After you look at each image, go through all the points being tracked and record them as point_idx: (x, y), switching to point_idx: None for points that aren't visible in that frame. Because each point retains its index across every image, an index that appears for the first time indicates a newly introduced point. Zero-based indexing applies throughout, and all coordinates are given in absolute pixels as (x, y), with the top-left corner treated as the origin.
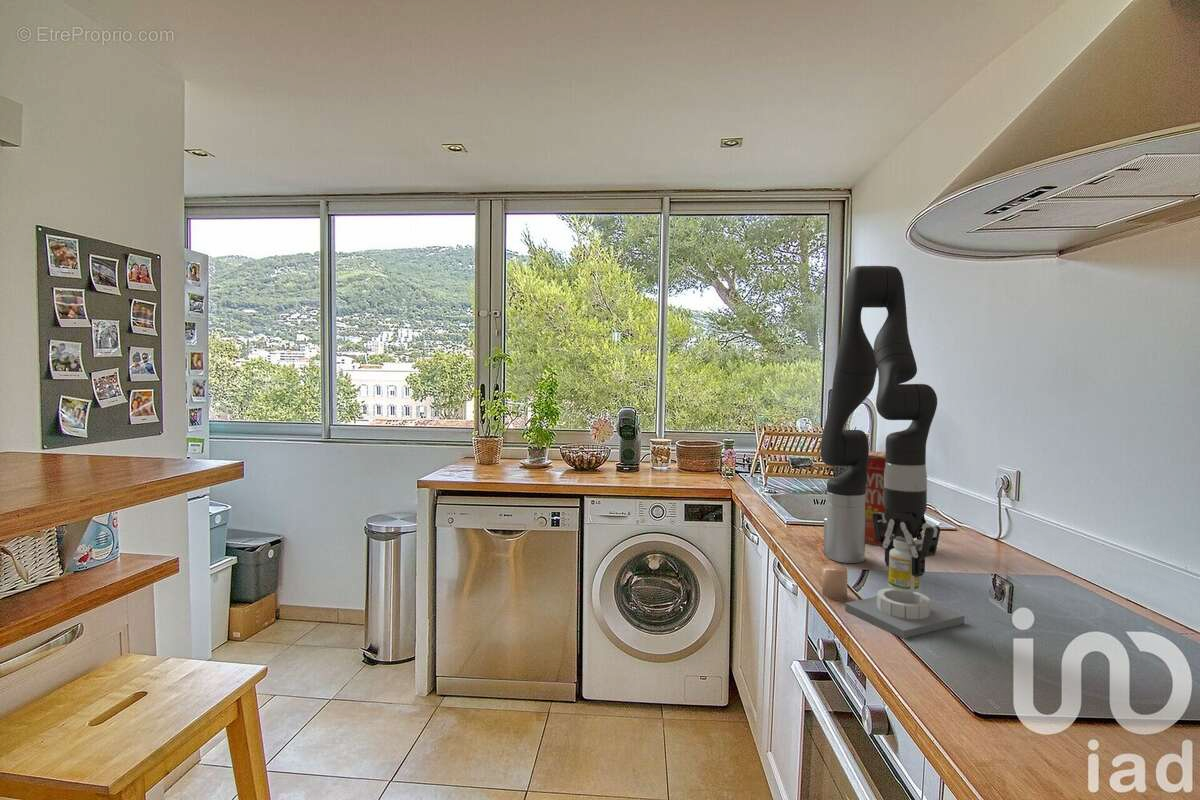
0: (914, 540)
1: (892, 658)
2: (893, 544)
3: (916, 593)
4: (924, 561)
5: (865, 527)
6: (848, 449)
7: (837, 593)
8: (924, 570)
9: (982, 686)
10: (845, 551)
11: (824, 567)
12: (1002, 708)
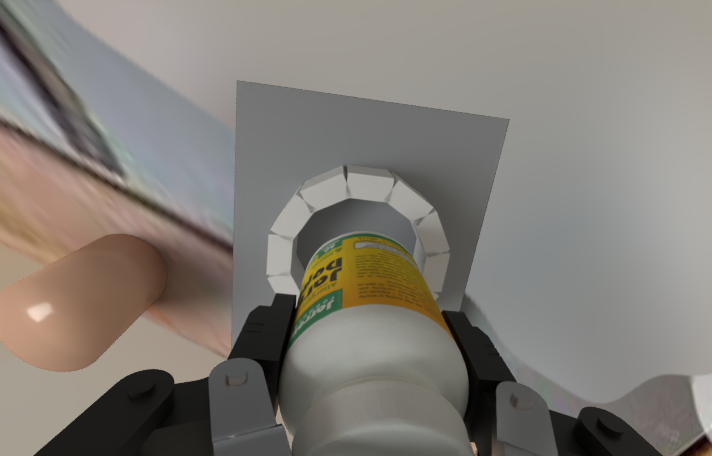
0: (443, 440)
1: None
2: None
3: (365, 191)
4: (512, 381)
5: None
6: None
7: (151, 303)
8: (489, 342)
9: (639, 398)
10: None
11: (25, 354)
12: (683, 433)
